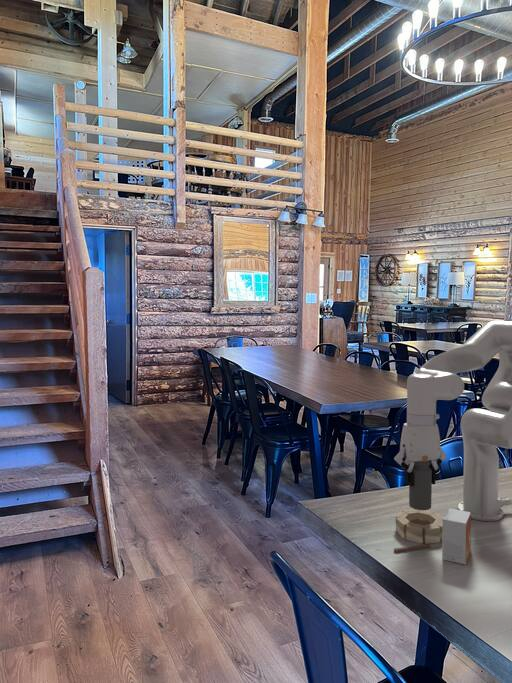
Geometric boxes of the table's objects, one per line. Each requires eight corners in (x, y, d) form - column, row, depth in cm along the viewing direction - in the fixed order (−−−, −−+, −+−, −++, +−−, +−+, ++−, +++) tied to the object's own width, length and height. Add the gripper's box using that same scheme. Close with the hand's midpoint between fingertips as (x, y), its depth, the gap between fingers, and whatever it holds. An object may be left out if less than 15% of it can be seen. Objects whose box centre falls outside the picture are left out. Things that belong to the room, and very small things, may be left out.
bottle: (432, 511, 136) (433, 457, 134) (410, 509, 137) (410, 455, 136) (429, 502, 141) (430, 450, 140) (408, 501, 142) (408, 449, 141)
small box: (465, 565, 122) (466, 524, 121) (441, 559, 125) (442, 519, 124) (471, 551, 129) (471, 511, 128) (448, 546, 132) (448, 507, 131)
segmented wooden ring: (428, 520, 147) (428, 507, 147) (453, 540, 135) (454, 525, 135) (389, 525, 145) (389, 511, 144) (411, 545, 132) (411, 531, 132)
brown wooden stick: (428, 546, 132) (428, 543, 132) (430, 547, 131) (430, 545, 131) (393, 551, 130) (393, 548, 130) (395, 552, 129) (395, 550, 129)
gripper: (441, 414, 143) (440, 476, 144) (385, 418, 139) (385, 481, 140) (457, 420, 135) (456, 485, 137) (399, 424, 132) (398, 491, 133)
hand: (420, 483), depth 139 cm, fingers closed on bottle, 5 cm apart
